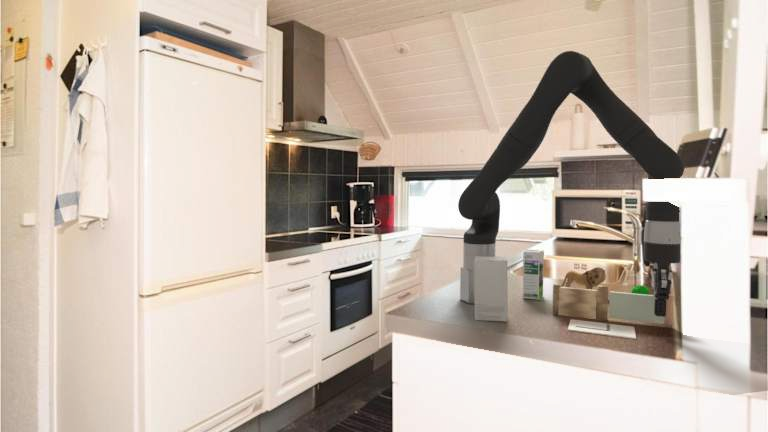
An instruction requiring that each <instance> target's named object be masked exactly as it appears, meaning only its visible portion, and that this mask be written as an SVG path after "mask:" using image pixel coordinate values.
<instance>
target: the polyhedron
mask: <svg viewBox="0 0 768 432" xmlns="http://www.w3.org/2000/svg"><path fill="white" fill-rule="evenodd" d="M630 293H635V294H646V295H651V291H650V289H649V288H648V287H646V286H645V285H640V284H639V285H635V286H633V287H632V289H631V292H630Z"/></svg>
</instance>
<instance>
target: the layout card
mask: <svg viewBox="0 0 768 432" xmlns="http://www.w3.org/2000/svg"><path fill="white" fill-rule="evenodd" d="M567 331H569V332H579V333H584V334H585V333H586V334H593V335H602V336H609V337H615V338H623V339H624V338H625V339H632V340H637V336H636V329H635V327H634V326H631V325H630V326H629V325H621V324H614V323H613V324H612V323H605V322H597V321H587V320H579V319H571V318H570V320H569V323H568V326H567Z"/></svg>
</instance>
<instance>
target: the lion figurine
mask: <svg viewBox="0 0 768 432" xmlns="http://www.w3.org/2000/svg"><path fill="white" fill-rule="evenodd" d="M606 278H607V277H606V270H605V269H604V268H602V267H600V266H598V267H597V266H596V267H595V268H594V267H593V268H592V269H589V270H586V271H585V272H583V273H580V272H577V271H575V270H569V271H568V272H567V273H566V274H565V276H564V280H563V283H562V284H560V287H569V288H571V285H572V284H573V283H574V282H575V284H578V286H585V289H591V290H593V287H594V288H597V286H598V285H601V284H603V283H604V282H605V280H606ZM566 281H567V282H566Z"/></svg>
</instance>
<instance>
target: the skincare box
mask: <svg viewBox="0 0 768 432" xmlns="http://www.w3.org/2000/svg"><path fill="white" fill-rule="evenodd" d="M508 282H509V281H508V258H507V256H495V257H481V256H476V257H475V260H474V284H475V304H474V321H487V322H489V321H491V322H504V323H505V322H506V323H507V322H508V316H509V315H508V313H509V311H508V308H509V304H508V303H509V302H508V301H509V300H508V296H509V295H508V293H509V292H508Z"/></svg>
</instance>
